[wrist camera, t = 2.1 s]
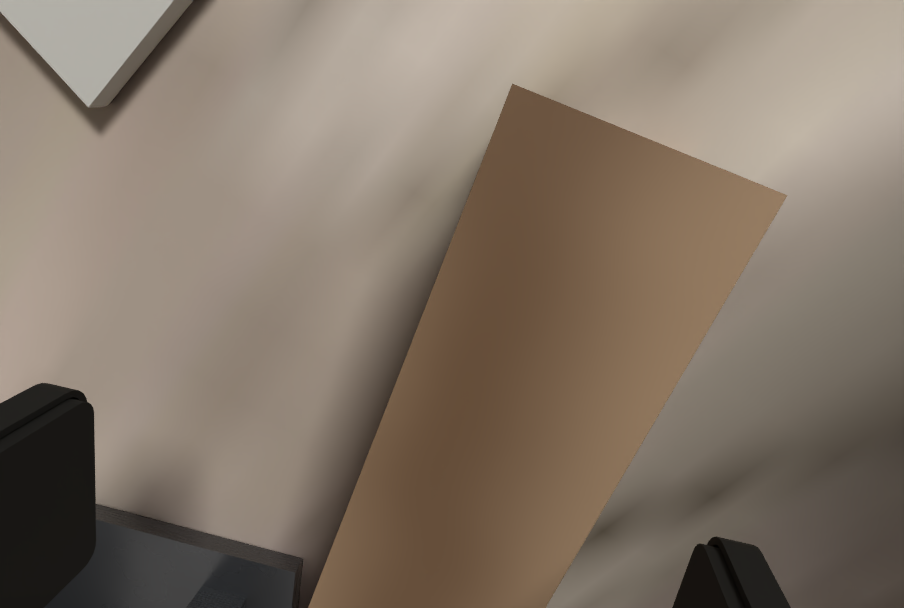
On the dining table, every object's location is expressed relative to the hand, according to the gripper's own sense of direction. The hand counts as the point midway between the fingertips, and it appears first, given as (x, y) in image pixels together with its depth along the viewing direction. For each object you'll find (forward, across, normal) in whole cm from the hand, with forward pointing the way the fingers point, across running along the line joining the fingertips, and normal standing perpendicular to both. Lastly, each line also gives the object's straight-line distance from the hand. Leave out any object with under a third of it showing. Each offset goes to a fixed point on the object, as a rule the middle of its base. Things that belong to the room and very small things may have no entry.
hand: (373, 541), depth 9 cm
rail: (+7, -1, +3) cm, 8 cm away
